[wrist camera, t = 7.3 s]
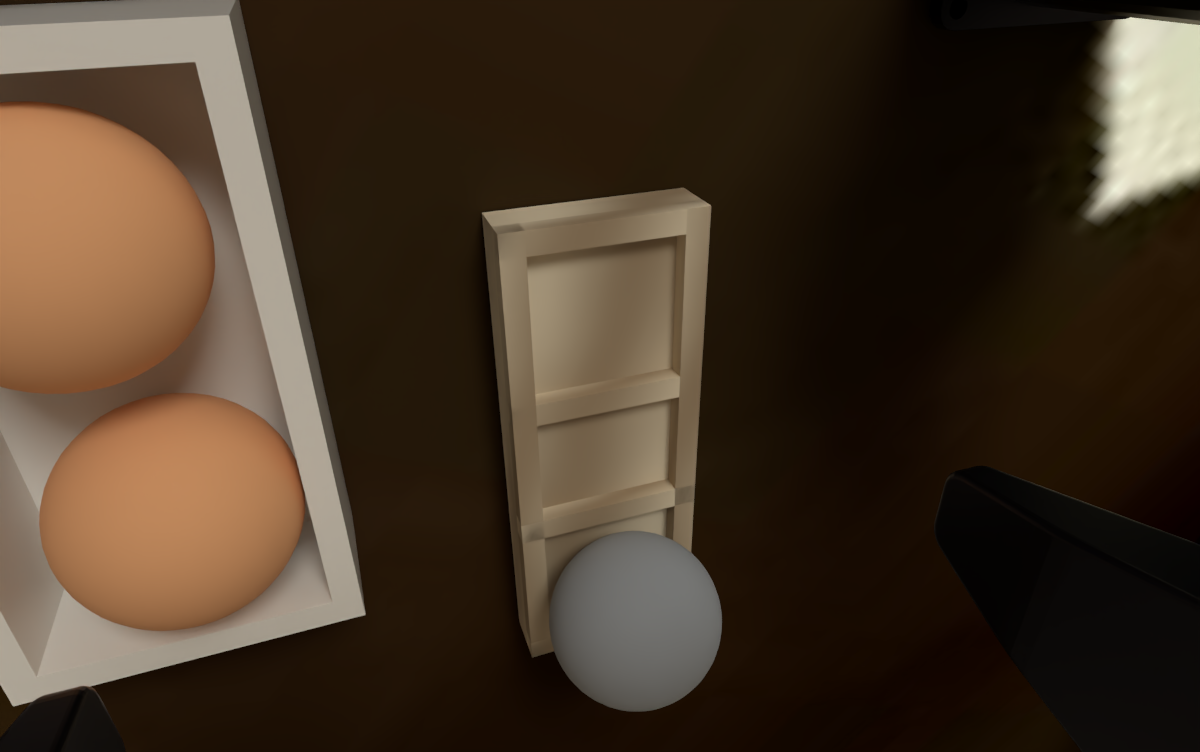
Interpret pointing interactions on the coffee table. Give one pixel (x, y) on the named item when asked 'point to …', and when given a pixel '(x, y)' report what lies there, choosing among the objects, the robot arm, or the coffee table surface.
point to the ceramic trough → (203, 360)
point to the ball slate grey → (635, 621)
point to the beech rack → (596, 375)
